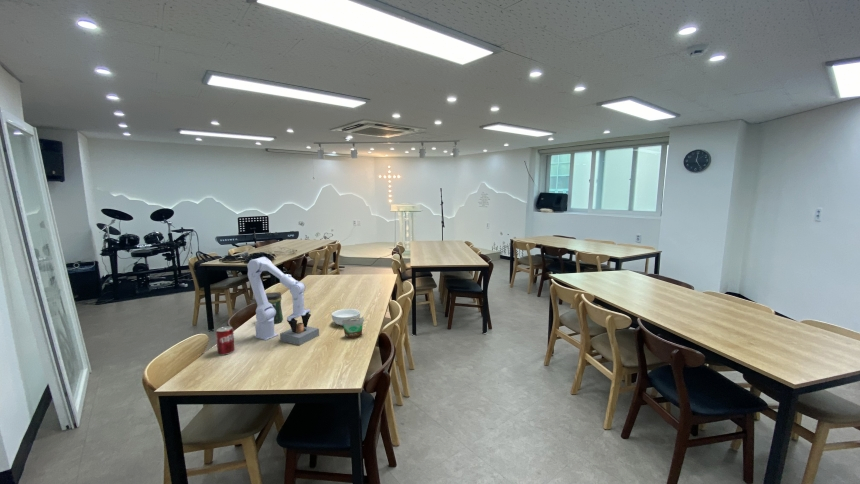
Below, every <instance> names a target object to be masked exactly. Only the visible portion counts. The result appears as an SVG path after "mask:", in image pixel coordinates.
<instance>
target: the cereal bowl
mask: <svg viewBox="0 0 860 484" xmlns="http://www.w3.org/2000/svg"><path fill="white" fill-rule="evenodd" d="M353 318H361V312H360V310H359V309H355V308H343V309H338V310H335V311H333V312H331V319H332V321H333V323H335V324H337V325H340V326H341V327H344V326H343V323H342V320H349V319H353Z"/></svg>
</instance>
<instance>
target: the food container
mask: <svg viewBox="0 0 860 484" xmlns="http://www.w3.org/2000/svg"><path fill="white" fill-rule="evenodd" d="M364 318H365V317H364V316H362V317H360V318H353V319H349V320H342V323H343V326H342V327H343V332H344V337H345V338H348V339H356V338H359V337H361V336H363V324H364V323H363V322H364V321H365V319H364Z"/></svg>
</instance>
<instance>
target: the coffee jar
mask: <svg viewBox="0 0 860 484" xmlns="http://www.w3.org/2000/svg"><path fill="white" fill-rule="evenodd" d="M265 293H266V292H265ZM266 296H267V299H268V302H269V303H271V304H272V306H273V308H274V309H275V310H276V315H275V316H274V324H280V323H281V322H283V320H284V317H283V311H282V299H283V297H282V294H281V292H267V293H266Z"/></svg>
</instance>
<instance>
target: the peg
mask: <svg viewBox="0 0 860 484" xmlns="http://www.w3.org/2000/svg"><path fill="white" fill-rule="evenodd" d="M302 332H304V324H303V322H297V325H296V333H299V334H300V333H302Z"/></svg>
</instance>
